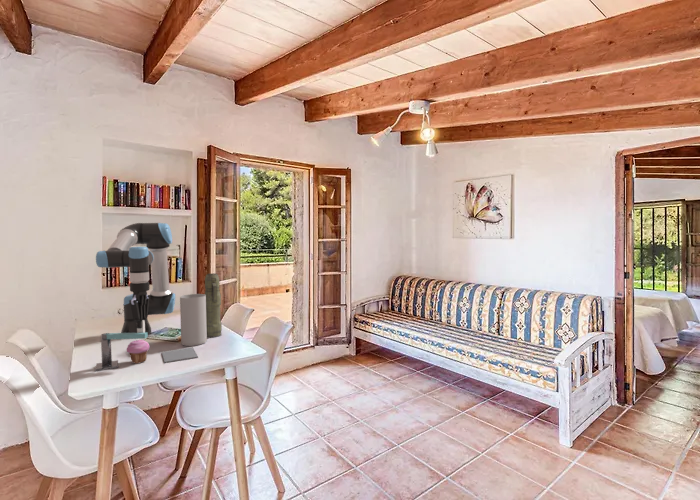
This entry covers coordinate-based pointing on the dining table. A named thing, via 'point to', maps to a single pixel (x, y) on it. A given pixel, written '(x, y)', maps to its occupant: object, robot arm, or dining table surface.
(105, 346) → the post
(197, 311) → the cylinder vase
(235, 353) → the dining table surface
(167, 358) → the rubber mat
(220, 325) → the thermos
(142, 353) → the cupcake
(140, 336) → the bar
